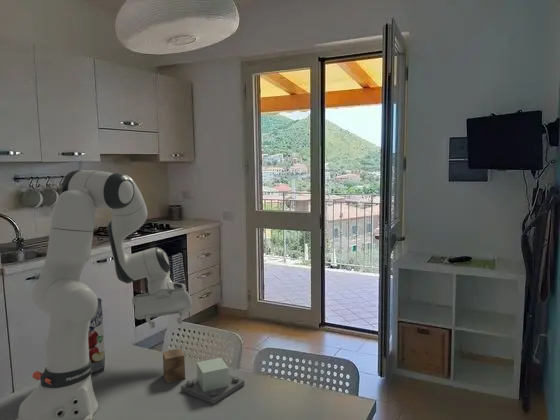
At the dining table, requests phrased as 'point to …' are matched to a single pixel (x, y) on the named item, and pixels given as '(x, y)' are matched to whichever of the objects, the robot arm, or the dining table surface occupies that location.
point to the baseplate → (212, 393)
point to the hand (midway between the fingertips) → (166, 325)
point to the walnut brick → (173, 365)
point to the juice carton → (96, 341)
